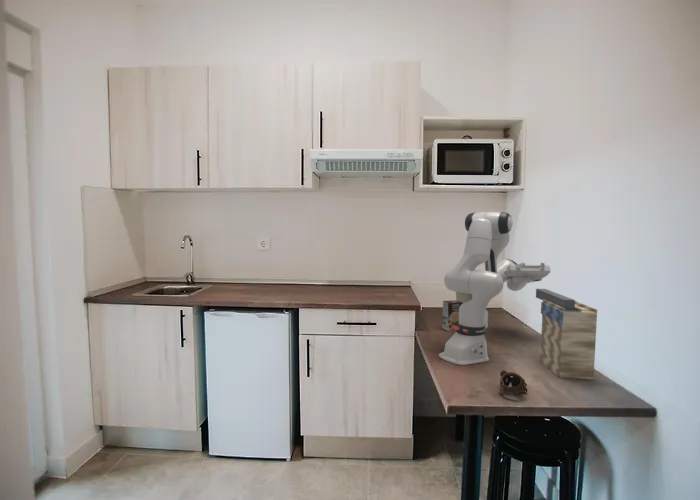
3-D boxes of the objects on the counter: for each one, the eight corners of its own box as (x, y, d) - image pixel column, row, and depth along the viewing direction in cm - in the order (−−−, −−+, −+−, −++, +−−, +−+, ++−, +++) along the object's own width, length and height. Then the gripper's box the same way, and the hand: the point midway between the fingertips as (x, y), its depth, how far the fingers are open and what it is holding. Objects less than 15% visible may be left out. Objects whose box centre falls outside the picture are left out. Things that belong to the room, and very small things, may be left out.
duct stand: (538, 360, 158) (541, 299, 156) (569, 362, 157) (572, 300, 155) (558, 377, 140) (561, 308, 138) (593, 379, 139) (597, 309, 137)
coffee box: (448, 331, 202) (448, 303, 201) (441, 328, 208) (442, 300, 207) (462, 330, 205) (462, 302, 204) (455, 327, 211) (456, 299, 210)
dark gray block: (574, 310, 140) (575, 300, 140) (563, 309, 140) (564, 299, 140) (544, 297, 166) (545, 288, 166) (535, 297, 166) (536, 288, 166)
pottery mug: (535, 398, 124) (531, 381, 121) (512, 411, 123) (508, 395, 120) (512, 376, 135) (508, 360, 132) (490, 388, 134) (486, 372, 131)
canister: (488, 317, 235) (489, 285, 234) (465, 319, 229) (466, 286, 227) (470, 311, 252) (471, 281, 251) (448, 313, 246) (449, 282, 244)
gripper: (502, 268, 192) (510, 257, 180) (542, 269, 190) (553, 258, 178) (503, 280, 189) (512, 269, 177) (544, 280, 187) (556, 270, 175)
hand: (533, 264), depth 177 cm, fingers open, 8 cm apart
